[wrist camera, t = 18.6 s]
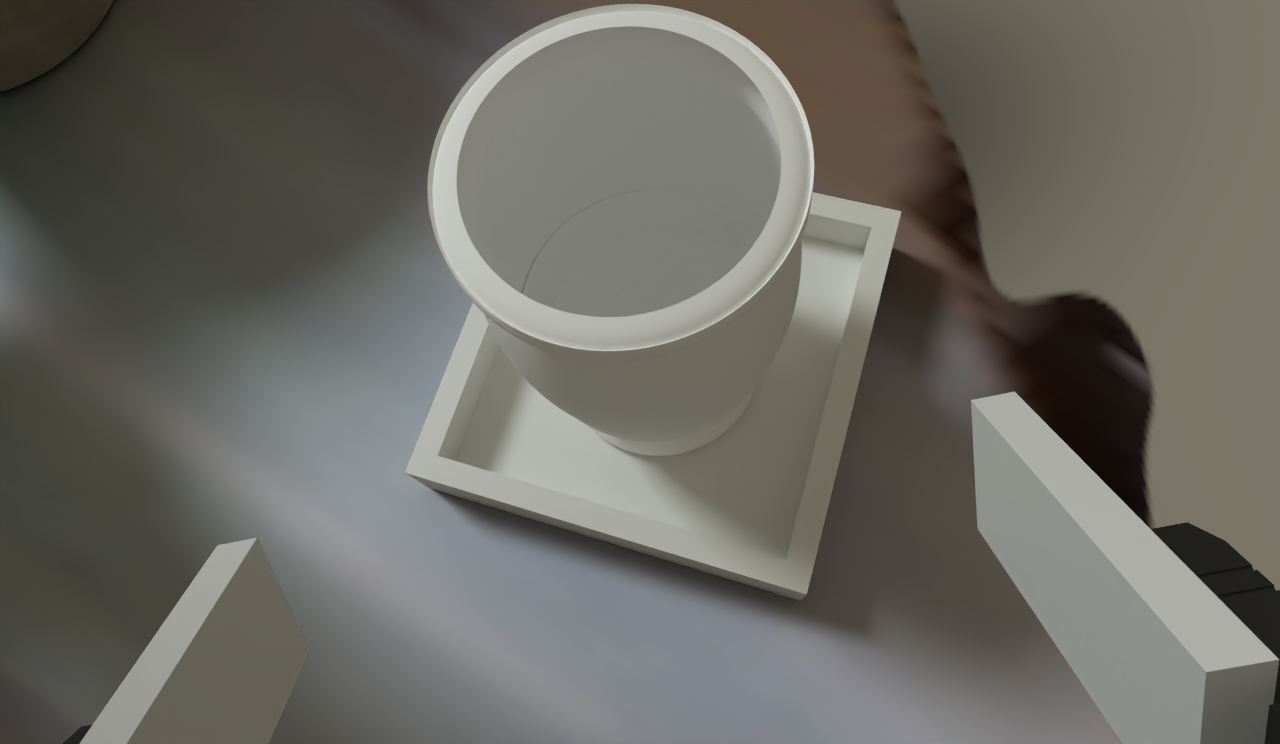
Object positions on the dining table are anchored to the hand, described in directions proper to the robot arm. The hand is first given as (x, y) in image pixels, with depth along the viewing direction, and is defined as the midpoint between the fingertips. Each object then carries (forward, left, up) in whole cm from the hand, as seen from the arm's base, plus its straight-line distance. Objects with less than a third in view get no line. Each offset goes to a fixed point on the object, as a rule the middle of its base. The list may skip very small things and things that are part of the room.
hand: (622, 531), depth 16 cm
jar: (+10, +4, -19) cm, 21 cm away
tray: (+10, +4, -20) cm, 22 cm away
